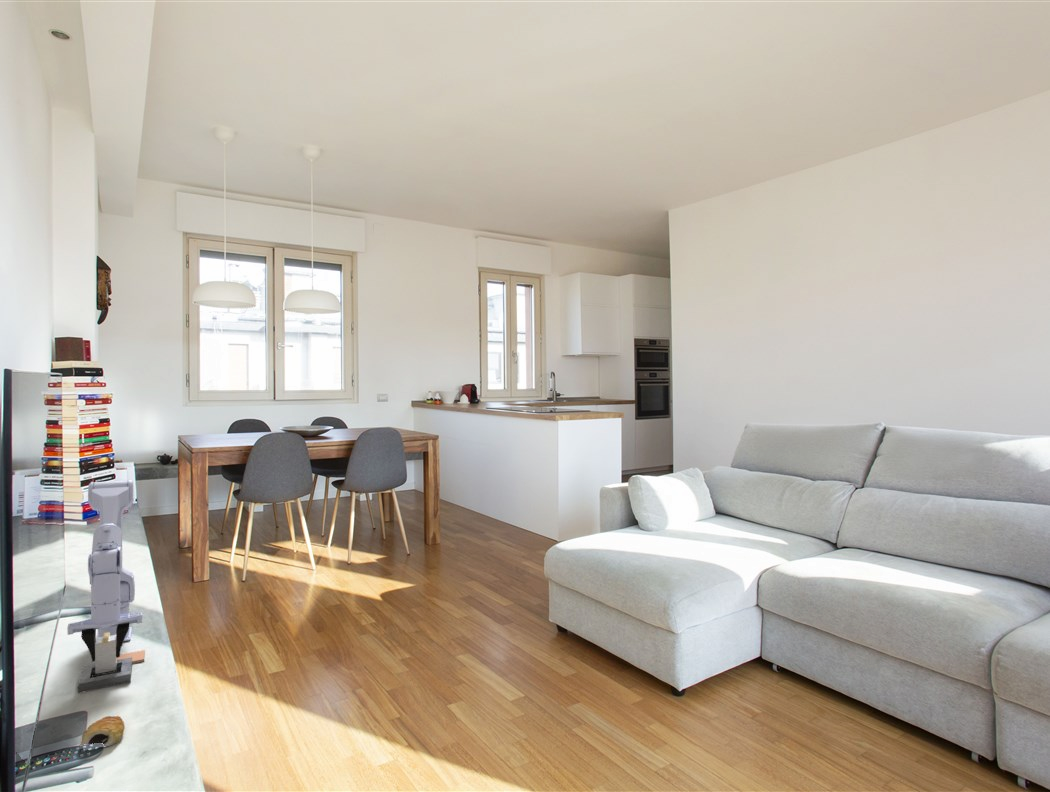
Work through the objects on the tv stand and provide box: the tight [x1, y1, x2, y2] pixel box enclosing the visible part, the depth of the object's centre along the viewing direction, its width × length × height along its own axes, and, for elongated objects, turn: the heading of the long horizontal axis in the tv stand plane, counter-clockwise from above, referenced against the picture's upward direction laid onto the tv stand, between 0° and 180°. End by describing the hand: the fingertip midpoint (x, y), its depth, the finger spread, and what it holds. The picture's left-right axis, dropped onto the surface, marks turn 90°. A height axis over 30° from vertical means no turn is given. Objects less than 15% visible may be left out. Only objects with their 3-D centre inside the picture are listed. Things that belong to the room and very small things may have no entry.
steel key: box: [94, 632, 117, 674], centre depth 147 cm, size 5×4×8 cm
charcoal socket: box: [77, 657, 133, 694], centre depth 147 cm, size 10×10×2 cm
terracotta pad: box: [117, 649, 146, 665], centre depth 157 cm, size 6×6×1 cm
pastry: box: [79, 715, 125, 747], centre depth 123 cm, size 9×7×4 cm
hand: (106, 657), depth 147 cm, fingers closed on steel key, 4 cm apart
